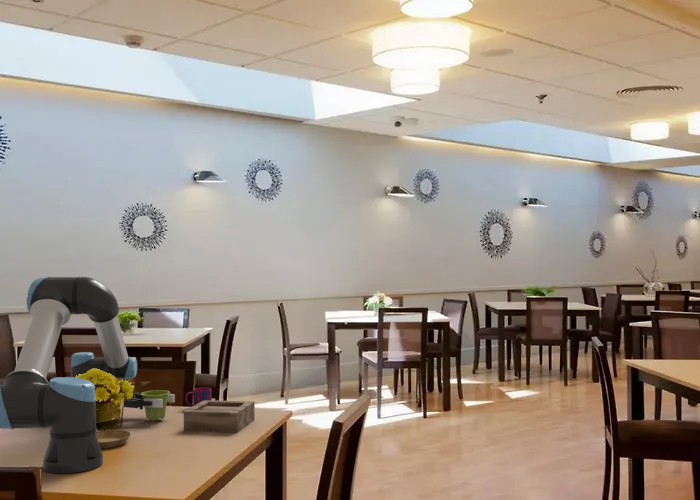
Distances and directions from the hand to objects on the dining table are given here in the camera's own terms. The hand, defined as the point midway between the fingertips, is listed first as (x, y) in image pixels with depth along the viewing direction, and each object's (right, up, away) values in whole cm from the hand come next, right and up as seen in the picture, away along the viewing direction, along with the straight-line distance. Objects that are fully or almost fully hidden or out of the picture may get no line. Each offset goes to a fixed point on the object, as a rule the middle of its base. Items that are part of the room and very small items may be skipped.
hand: (168, 400), depth 251 cm
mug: (+6, -7, +21) cm, 23 cm away
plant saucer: (-12, -7, -29) cm, 32 cm away
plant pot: (-5, -6, +1) cm, 8 cm away
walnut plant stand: (+19, -7, -6) cm, 21 cm away
